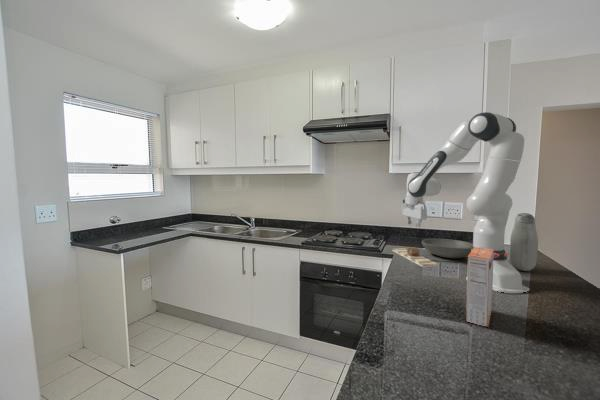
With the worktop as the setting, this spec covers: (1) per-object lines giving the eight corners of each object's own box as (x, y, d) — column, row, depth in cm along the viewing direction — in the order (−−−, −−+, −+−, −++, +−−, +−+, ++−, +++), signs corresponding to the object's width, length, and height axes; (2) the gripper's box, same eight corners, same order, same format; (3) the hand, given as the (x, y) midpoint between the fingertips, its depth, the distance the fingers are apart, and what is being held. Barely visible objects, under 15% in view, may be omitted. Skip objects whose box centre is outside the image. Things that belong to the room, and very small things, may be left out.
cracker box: (470, 306, 93) (473, 246, 92) (492, 311, 89) (495, 249, 88) (464, 322, 82) (466, 254, 81) (488, 329, 78) (491, 258, 77)
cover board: (437, 265, 138) (437, 255, 137) (422, 266, 137) (423, 256, 137) (405, 249, 170) (405, 242, 170) (392, 250, 170) (393, 242, 169)
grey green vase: (540, 274, 125) (543, 214, 124) (514, 272, 129) (516, 213, 127) (530, 268, 135) (533, 212, 133) (505, 266, 138) (508, 211, 136)
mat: (439, 266, 137) (439, 265, 137) (421, 267, 136) (421, 266, 136) (406, 250, 171) (406, 249, 171) (391, 250, 170) (391, 249, 170)
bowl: (474, 267, 137) (475, 250, 136) (416, 257, 154) (416, 243, 153) (478, 255, 159) (479, 241, 158) (427, 248, 175) (427, 236, 175)
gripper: (430, 202, 142) (429, 228, 143) (410, 199, 162) (409, 222, 163) (419, 202, 141) (418, 228, 142) (400, 200, 161) (399, 222, 162)
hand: (413, 225), depth 153 cm, fingers open, 8 cm apart
